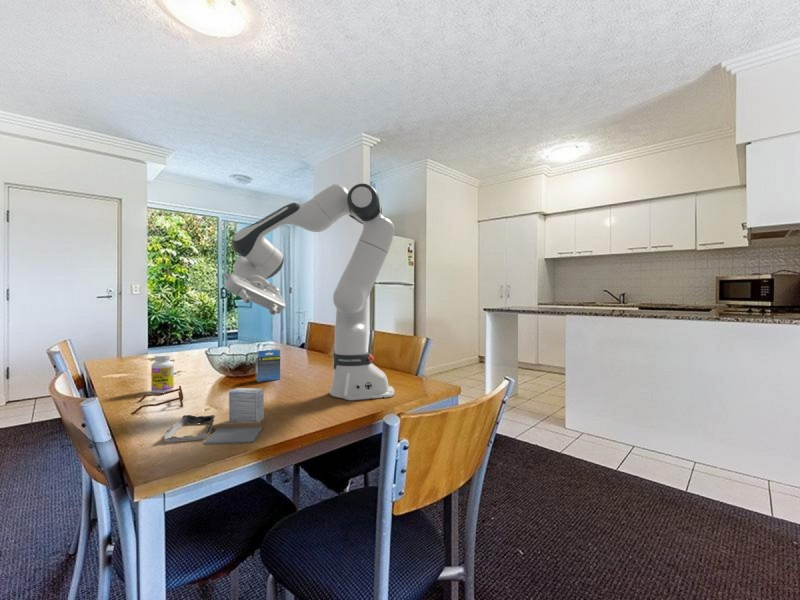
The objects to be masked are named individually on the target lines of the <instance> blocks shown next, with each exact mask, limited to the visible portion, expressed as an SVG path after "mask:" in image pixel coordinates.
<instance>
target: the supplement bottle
mask: <svg viewBox="0 0 800 600" xmlns="http://www.w3.org/2000/svg"><path fill="white" fill-rule="evenodd" d="M170 359H171V354H169V353H161V354H160V353H159V354H155V355H154V360H155V361H154V362H152V364H151V370H150V373H151V377H150V378H151V380H150V381H151V387H150V388H151V393H152V394H161V393H163V392H168V391H172V390H174V386H175V385H174V384H175V382H174V377H175V376H174V369H175V367H174V362H173V361H171V360H170Z"/></svg>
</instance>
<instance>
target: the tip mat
mask: <svg viewBox="0 0 800 600" xmlns="http://www.w3.org/2000/svg"><path fill="white" fill-rule="evenodd" d="M262 429H263V426H262V421H260V422H234V423H229V422H221V423H219V428H216V430H215V431H214V432H213V433H212V434H211V435H210V436H209V437H207V438H206V439H205V440H204V442H203V445H221V444H243V443H244V444H246V443H247V444H248V443H254V442H255V440H256V439H257V437H258V436H259V434H260V432H262Z"/></svg>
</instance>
